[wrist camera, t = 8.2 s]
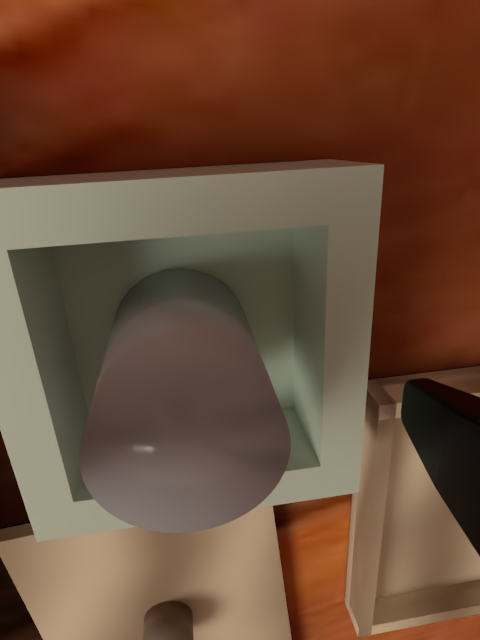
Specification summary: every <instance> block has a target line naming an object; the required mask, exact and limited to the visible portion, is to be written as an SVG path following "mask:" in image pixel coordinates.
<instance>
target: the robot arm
mask: <svg viewBox="0 0 480 640" xmlns="http://www.w3.org/2000/svg"><path fill="white" fill-rule="evenodd" d="M401 420H402V423H403V426H404V428H405V430H406V432H407V434H408V436H409V438H410V440H411V442H412V444H413V446H414V448H415V450H416V451H417V453H418V455H419V457H420V459H421V461H422V463H423V465H424V467H425V469H426V471H427V473H428V475H429V477H430V479H431V481H432V483H433V484H434V486H435V488H436V490H437V491H438V493H439V494H440V496H441V498H442V499H443V501H444V502H445V504H446V505H447V507H448V509H449V510H450V512H451V513H452V515H453V516H454V518H455V519H456V521H457V522H458V524H459V525H460V527H461V529H462V530H463V532H464V533H465V535H466V536H467V538H468V539H469V541H470V542H471V544H472V546H473V547H474V549H475V550H476V552H477V553H478V555H479V556H480V397H478V396H475V395H473V394H470V393H467V392H464V391H462V390H459V389H456V388H453V387H451V386H448V385H445V384H442V383H439V382H437V381H434V380H431V379H428V378H417V379H410V380H407V381H406V382H405V384H404V388H403V397H402V406H401Z"/></svg>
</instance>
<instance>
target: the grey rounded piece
mask: <svg viewBox="0 0 480 640" xmlns="http://www.w3.org/2000/svg"><path fill="white" fill-rule="evenodd" d="M290 452H291V438H290V430H289V427H288V424H287V421H286V418H285V416H284V413H283V411H282V408H281V405H280V403H279V400H278V398H277V395H276V393H275V390H274V388H273V385H272V382H271V380H270V377H269V375H268V372H267V370H266V367H265V365H264V362H263V360H262V357H261V354H260V352H259V349H258V347H257V344H256V342H255V339H254V337H253V334H252V331H251V329H250V326H249V324H248V321H247V319H246V316H245V314H244V311H243V308H242V306H241V304H240V302H239V300H238V299H237V297H236V296H235V294H234V293H233V292H232V291H231V290H230V288H229V287H228V286H226V285H225V284H224V283H223V282H221V281H220V280H218V279H217V278H215V277H213V276H211V275H209V274H207V273H203V272H200V271H196V270H191V269H170V270H165V271H161V272H158V273H155V274H152V275H150V276H148V277H146V278H144V279H143V280H141V281H140V282H138V283H137V284H136V285H134V286H133V287H132V288H131V289H130V290H129V291H128V292H127V294H126V295H125V296H124V298H123V299H122V301H121V302H120V304H119V307H118V309H117V311H116V315H115V318H114V322H113V326H112V329H111V333H110V337H109V341H108V344H107V348H106V352H105V355H104V359H103V363H102V366H101V370H100V374H99V377H98V381H97V385H96V388H95V392H94V396H93V399H92V403H91V407H90V410H89V414H88V418H87V421H86V425H85V429H84V433H83V436H82V440H81V444H80V450H79V467H80V471H81V475H82V479H83V481H84V483H85V486H86V488H87V490H88V491H89V493H90V494H91V496H92V497H93V498H94V499H95V501H96V502H97V503H98V504H99V505H100V506H101V507H102V508H104V509H105V510H106V511H107V512H108V513H110V514H111V515H113V516H114V517H116V518H118V519H119V520H122V521H124V522H126V523H128V524H130V525H133V526H136V527H139V528H142V529H146V530H151V531H157V532H165V533H186V532H195V531H202V530H206V529H210V528H215V527H217V526H220V525H223V524H226V523H229V522H231V521H233V520H235V519H237V518H239V517H241V516H243V515H245V514H246V513H248V512H249V511H251V510H252V509H254V508H255V507H257V506H258V505H259V504H260V503H261V502H262V501H264V500H265V499H266V498H267V497H268V496H269V495H270V493H271V492H272V491H273V490H274V489H275V487H276V486H277V484H278V483H279V482H280V480H281V478H282V476H283V474H284V472H285V470H286V467H287V465H288V462H289V457H290Z"/></svg>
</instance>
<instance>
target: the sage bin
mask: <svg viewBox="0 0 480 640" xmlns="http://www.w3.org/2000/svg"><path fill="white" fill-rule="evenodd" d="M383 175H384V164H375V163H365V162H355V161H344V160H334V159H322V160H305V161H288V162H272V163H255V164H238V165H221V166H204V167H188V168H171V169H154V170H137V171H120V172H104V173H87V174H70V175H53V176H36V177H20V178H3V179H0V430H1V433H2V436H3V439H4V443H5V446H6V449H7V452H8V455H9V458H10V461H11V464H12V467H13V470H14V473H15V477H16V480H17V483H18V486H19V489H20V492H21V495H22V498H23V501H24V504H25V507H26V511H27V514H28V517H29V520H30V523H31V526H32V529H33V532H34V535H35V538H36V541H37V542H40V541H47V540H53V539H60V538H66V537H73V536H79V535H86V534H92V533H99V532H105V531H112V530H118V529H125V528H131V527H136V526H133V525H130V524H128V523H126V522H124V521H122V520H119V519H118V518H116V517H114V516H113V515H111V514H110V513H108V512H107V511H106V510H105V509H104V508H102V507H101V506H100V505H99V504H98V503H97V502H96V501H95V499H94V498H93V497H92V496H91V494H90V493H89V491H88V490H87V488H86V486H85V483H84V481H83V479H82V475H81V471H80V467H79V450H80V444H81V440H82V436H83V433H84V429H85V425H86V421H87V418H88V414H89V410H90V407H91V403H92V399H93V396H94V392H95V388H96V385H97V381H98V377H99V374H100V370H101V366H102V363H103V359H104V355H105V352H106V348H107V344H108V341H109V337H110V333H111V329H112V326H113V322H114V318H115V315H116V311H117V309H118V307H119V304H120V302H121V301H122V299H123V298H124V296H125V295H126V294H127V292H128V291H129V290H130V289H131V288H132V287H133V286H134V285H136V284H137V283H138V282H140V281H141V280H143V279H144V278H146V277H148V276H150V275H152V274H155V273H158V272H161V271H165V270H170V269H191V270H196V271H200V272H203V273H207V274H209V275H211V276H213V277H215V278H217V279H218V280H220V281H221V282H223V283H224V284H225V285H226V286H228V287H229V288H230V290H231V291H232V292H233V293H234V294H235V296H236V297H237V299H238V300H239V302H240V304H241V306H242V308H243V311H244V314H245V316H246V319H247V321H248V324H249V326H250V329H251V331H252V334H253V337H254V339H255V342H256V344H257V347H258V349H259V352H260V354H261V357H262V360H263V362H264V365H265V367H266V370H267V372H268V375H269V377H270V380H271V382H272V385H273V388H274V390H275V393H276V395H277V398H278V400H279V403H280V405H281V408H282V411H283V413H284V416H285V418H286V421H287V424H288V427H289V430H290V438H291V452H290V457H289V462H288V465H287V467H286V470H285V472H284V474H283V476H282V478H281V480H280V482H279V483H278V484H277V486H276V487H275V489H274V490H273V491H272V492H271V493H270V495H269V496H268V497H267V498H266V499H265V500H264V501H262V502H261V503H260V504H259V505H258V506H257V507H255V508H261V507H267V506H274V505H280V504H287V503H293V502H300V501H306V500H313V499H319V498H326V497H332V496H339V495H345V494H352V493H358V492H359V485H360V473H361V460H362V447H363V434H364V421H365V408H366V395H367V382H368V369H369V356H370V343H371V330H372V317H373V304H374V291H375V278H376V265H377V252H378V240H379V227H380V214H381V201H382V188H383Z"/></svg>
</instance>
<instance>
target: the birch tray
mask: <svg viewBox="0 0 480 640" xmlns="http://www.w3.org/2000/svg"><path fill="white" fill-rule="evenodd" d="M417 378H428V379H431V380H434V381H437V382H439V383H442V384H445V385H448V386H451V387H453V388H456V389H459V390H462V391H464V392H467V393H470V394H473V395H475V396H478V397H480V366H476V367H468V368H460V369H452V370H444V371H436V372H427V373H419V374H411V375H403V376H395V377H387V378H378V379H370V380H368V382H367V395H366V408H365V421H364V434H363V447H362V460H361V473H360V485H359V492H358V493H352V502H351V517H350V531H349V545H348V560H347V574H346V589H345V604H346V606H347V609H348V612H349V614H350V617H351V620H352V622H353V625H354V628H355V630H356V633H357V636H358V637H363V636H368V635H373V634H378V633H383V632H388V631H393V630H398V629H404V628H409V627H414V626H419V625H424V624H429V623H434V622H439V621H445V620H450V619H455V618H460V617H465V616H470V615H475V614H480V556H479V555H478V553H477V552H476V550H475V549H474V547H473V546H472V544H471V542H470V541H469V539H468V538H467V536H466V535H465V533H464V532H463V530H462V529H461V527H460V525H459V524H458V522H457V521H456V519H455V518H454V516H453V515H452V513H451V512H450V510H449V509H448V507H447V505H446V504H445V502H444V501H443V499H442V498H441V496H440V494H439V493H438V491H437V490H436V488H435V486H434V484H433V483H432V481H431V479H430V477H429V475H428V473H427V471H426V469H425V467H424V465H423V463H422V461H421V459H420V457H419V455H418V453H417V451H416V450H415V448H414V446H413V444H412V442H411V440H410V438H409V436H408V434H407V432H406V430H405V428H404V426H403V423H402V420H401V406H402V397H403V388H404V384H405V382H406V381H407V380H410V379H417Z"/></svg>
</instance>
